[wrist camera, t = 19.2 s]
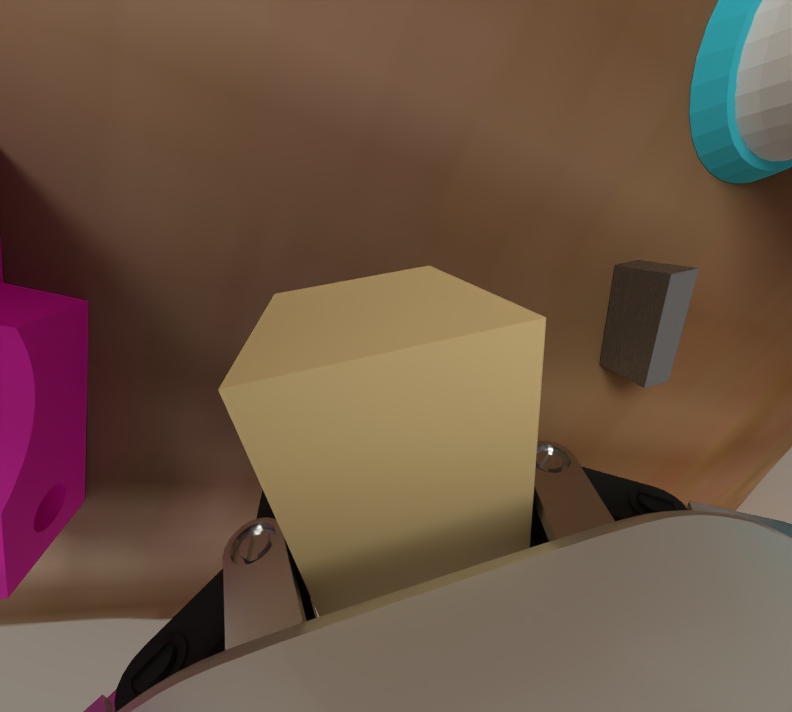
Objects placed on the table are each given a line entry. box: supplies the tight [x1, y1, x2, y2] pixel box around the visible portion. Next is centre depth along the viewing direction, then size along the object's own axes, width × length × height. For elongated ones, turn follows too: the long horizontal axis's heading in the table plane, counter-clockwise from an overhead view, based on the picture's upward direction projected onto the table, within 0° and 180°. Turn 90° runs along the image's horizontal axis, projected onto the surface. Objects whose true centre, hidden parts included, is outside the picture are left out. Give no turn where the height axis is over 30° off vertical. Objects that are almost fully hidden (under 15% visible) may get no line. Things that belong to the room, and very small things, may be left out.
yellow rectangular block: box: [218, 266, 546, 617], centre depth 10 cm, size 5×12×6 cm, turn 8°
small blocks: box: [600, 260, 699, 388], centre depth 15 cm, size 20×6×3 cm, turn 98°
